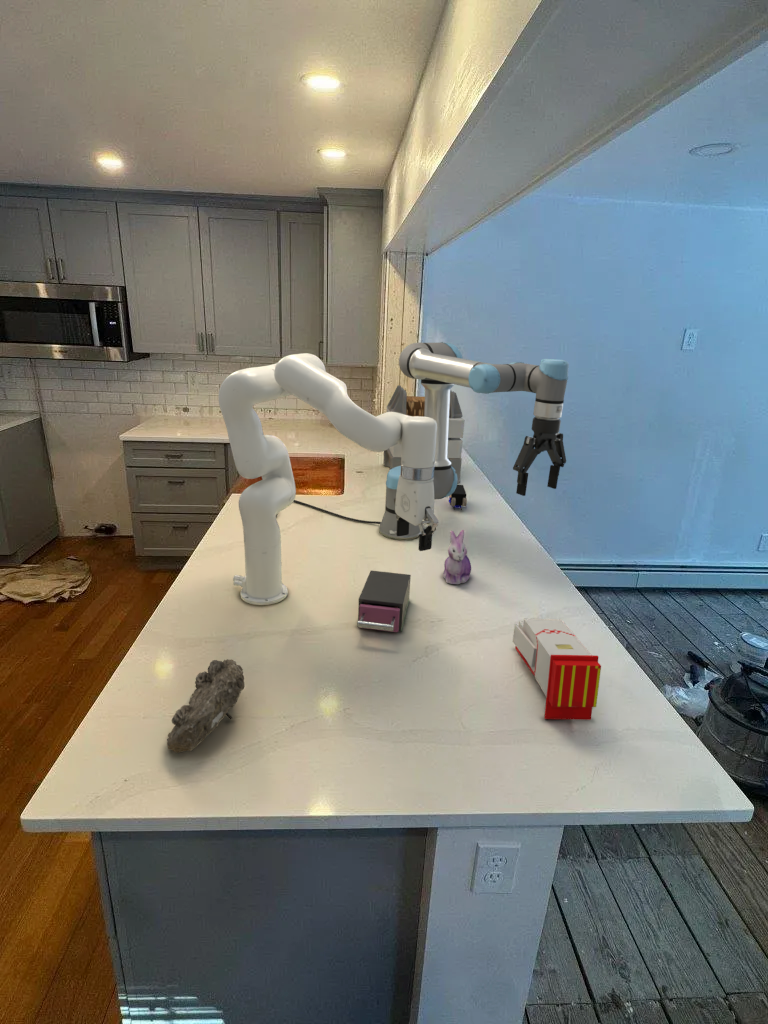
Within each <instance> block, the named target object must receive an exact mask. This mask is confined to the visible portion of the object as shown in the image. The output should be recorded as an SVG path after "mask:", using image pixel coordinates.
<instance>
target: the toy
mask: <svg viewBox="0 0 768 1024" xmlns="http://www.w3.org/2000/svg"><path fill="white" fill-rule="evenodd" d="M512 643H513V645H514V649H515V650H516V652H517V653H518V655H519V656H520V658H521V660H522V661H523V662H524V664H525V665H526V666H527V669H529V671H530V672H531V674H532V675H533V676H534V679H535V680H536V682H537V683H538V685H539V687H540V689H541V691H542V692H543V694H544V695H545V707H544V710H545V711H544V719H545V720H572V721H573V720H574V721H575V720H576V721H577V720H578V721H579V720H581V721H584V720H585V721H587V720H588V721H591V720H592V716H593V715H592V714H593V708H597V704H598V696H599V695H598V694H599V687H600V678H601V673H602V672H601V670H602V665H601V664H600V663H599V655H595V654H594V655H593V654H592V653H591V652H590V651H589V649H587V647H586V646H585V645H584V644H583V643H582V642H581V640H580V639H579V638H578V637H577V636H576V635H575V633H574V632H573V631H572V630H571V629H570V627H569V626H568V625H567V624H566V623H565V621H563V619H562V618H523V620H518V624H514V628H513V634H512Z"/></svg>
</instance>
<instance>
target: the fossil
mask: <svg viewBox="0 0 768 1024" xmlns="http://www.w3.org/2000/svg"><path fill="white" fill-rule="evenodd" d="M243 670H244V669H243V667H242V665H240V664H237V662H236V661H235V660H234V659H232V658H231V659H227V658H226V659H224V660H223V661H222V660H217V659H212V660H211V661H210V663H209V665H208V666H207V671H201V672H199V673H198V674H197V675H196V676H195V680H194V684H195V685H194V687H195V689H194V690H193V693H192V694H191V697H190V698H189V700H188V704H184V705H182V706H181V707H180V709H177V710H176V711H175V713H174V715H173V716H172V718H171V723H172V724H173V727H172V730H171V731H170V732H168V734H167V738H166V741H167V742H166V745H167V749H168V750H169V751H173V752H174V753H176V754H178V753H182V752H188V751H189V752H192V751H193V750H195V748H196V747H197V746H199V744H200V743H201V742H203V741H204V740H205V739H206V738H207V737H208V736H209V735H210V734H211V733H212V732H214V730H215V729H217V727H218V726H219V724H220V722H221V721H222V720H223V719H224V718H225V716H226V717H227V719H229V720H233V717H232V715H230V714H229V710H230V709H231V708H234V706H235V704H236V703H237V702H238V699H239V697H240V695H241V693H242V691H243V690H245V689H244V688H245V675H244V671H243Z"/></svg>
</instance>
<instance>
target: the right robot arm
mask: <svg viewBox="0 0 768 1024" xmlns="http://www.w3.org/2000/svg"><path fill="white" fill-rule="evenodd" d="M569 365H570V364H569V362H568V361H567V360H565V359H564V360H563V359H556V358H554V359H553V358H543V359H541V361H540V363H539V365H537V364H530V363H525V362H522V361H521V362H520V361H519V362H515V361H513V362H510V363H488V362H484V361H483V362H482V361H478V360H471V359H467V358H463V354H462V352H461V350H459V348H458V346H457V345H455V344H454V343H451V342H443V341H441V342H420V341H419V342H413V343H410V344H408V345H406V347H404V348H403V349H402V351H401V352H400V354H399V357H398V366H399V369H400V371H401V373H403V375H404V376H406V377H407V378H409V379H413V380H420V384H421V386H422V387H423V388H424V397H425V410H424V417H429V418H432V419H434V420H435V421H436V423H437V435H436V450H435V464H434V480H433V484H434V501H435V500H442V499H445V498H449V496H450V495H451V494H452V493H453V492H454V491H455V489H456V486H457V485H458V483H457V481H458V479H457V474H456V473H455V472H456V471H455V469H454V468H453V467H452V466H451V462H450V461H449V459H448V458H447V453H448V430H449V407H450V390H452V388H453V387H454V386H455V385H456V386H460V387H464V388H469V389H471V390H472V391H473V392H474V393H477V394H487V395H489V394H494V393H511V392H526V393H532V394H535V400H534V406H533V418H532V421H531V424H532V425H531V431H532V432H533V435H532V436H530V435H529V436H528V435H525V437H524V439H523V440H524V441H523V445H522V447H521V449H520V451H519V453H518V456H517V457H516V460H515V463H514V465H513V466H512V470H513V471H516V472H517V479H516V490H515V491H516V492H515V493H516V494H517V495H520V496H522V497H525V496H526V493H527V486H528V479H529V473H528V470H529V469H530V468H531V466H532V465H533V463H534V461H535V460H536V458H537V457H538V455H540V454H541V453H542V452H543V453H544V452H547V455H548V456H549V459H550V461H551V463H552V464H550V465H549V474H548V480H547V486H546V487H547V488H550V489H553V490H556V489H557V487H558V481H559V476H560V471H561V468H564V467H565V464H566V463H567V457H566V450H565V446H564V433H562V432H560V429H561V424H562V420H561V419H560V418H562V417H563V416H562V415H563V408H564V403H565V396H566V395H565V393H566V389H567V385H568V380H569ZM400 475H401V466H397V467H394V468H392V469H391V470H390V469H389V470H388V472H387V475H386V479H385V504H384V505H385V507H384V508H385V509H384V513H383V515H382V519H381V521H377V520H376V521H374V520H373V521H372V520H364V519H357V518H353V517H349V516H346V515H345V516H344V515H341V514H338V513H335V512H333V511H329V510H326V509H323V508H320V507H317V506H314V505H312V504H310V503H309V504H308V503H306V502H304V501H300V500H297V499H294V501H293V503H296V504H300V505H302V506H306V507H308V508H312V509H315V510H318V511H320V512H323V513H326V514H329V515H332V516H335V517H338V518H341V519H343V520H348V521H353V522H357V523H363V524H369V525H371V524H373V525H379V526H378V533H379V534H380V535H381V536H382V537H385V538H387V539H389V540H395V541H410V540H415V539H419V534H421V531H420V528H419V525H413V524H411V523H409V534H408V535H404V536H397V535H396V533H397V519H396V515H397V514H396V512H395V503H394V498H396V492H397V485H398V480H399V476H400Z"/></svg>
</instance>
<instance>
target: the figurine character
mask: <svg viewBox="0 0 768 1024" xmlns="http://www.w3.org/2000/svg"><path fill="white" fill-rule="evenodd" d="M448 502H449V505H450V507H452V509H453V511H456V509H460V511H463V507H464V508H465V507H467V503H468V498H467V492H466V489H465V487H464V484H457V486H456V489H455V491H454V492H453V493H452V494H451V495H450V496H448Z"/></svg>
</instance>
